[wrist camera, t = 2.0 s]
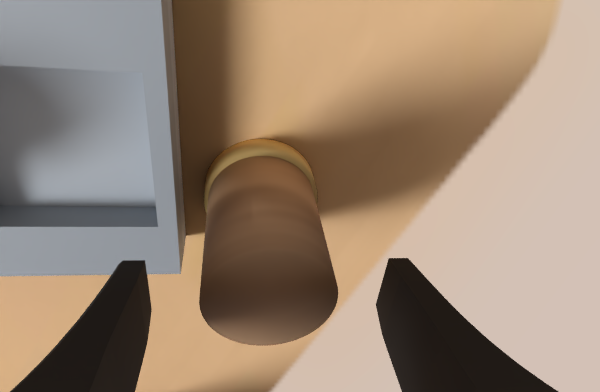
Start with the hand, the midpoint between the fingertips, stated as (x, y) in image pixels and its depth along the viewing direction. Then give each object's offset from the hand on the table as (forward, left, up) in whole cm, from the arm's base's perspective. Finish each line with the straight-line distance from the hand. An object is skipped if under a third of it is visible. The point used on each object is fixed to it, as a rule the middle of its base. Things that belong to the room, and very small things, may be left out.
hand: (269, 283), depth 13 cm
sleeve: (0, 0, -5) cm, 5 cm away
